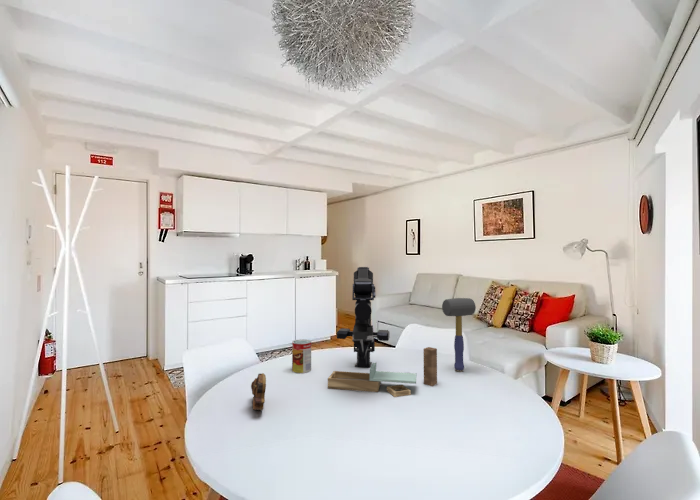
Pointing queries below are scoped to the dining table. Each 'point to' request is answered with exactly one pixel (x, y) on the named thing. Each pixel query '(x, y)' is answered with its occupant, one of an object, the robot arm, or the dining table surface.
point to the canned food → (301, 356)
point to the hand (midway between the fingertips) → (363, 358)
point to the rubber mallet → (458, 324)
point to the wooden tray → (352, 381)
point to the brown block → (430, 366)
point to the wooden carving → (259, 391)
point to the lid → (391, 376)
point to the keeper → (398, 393)
